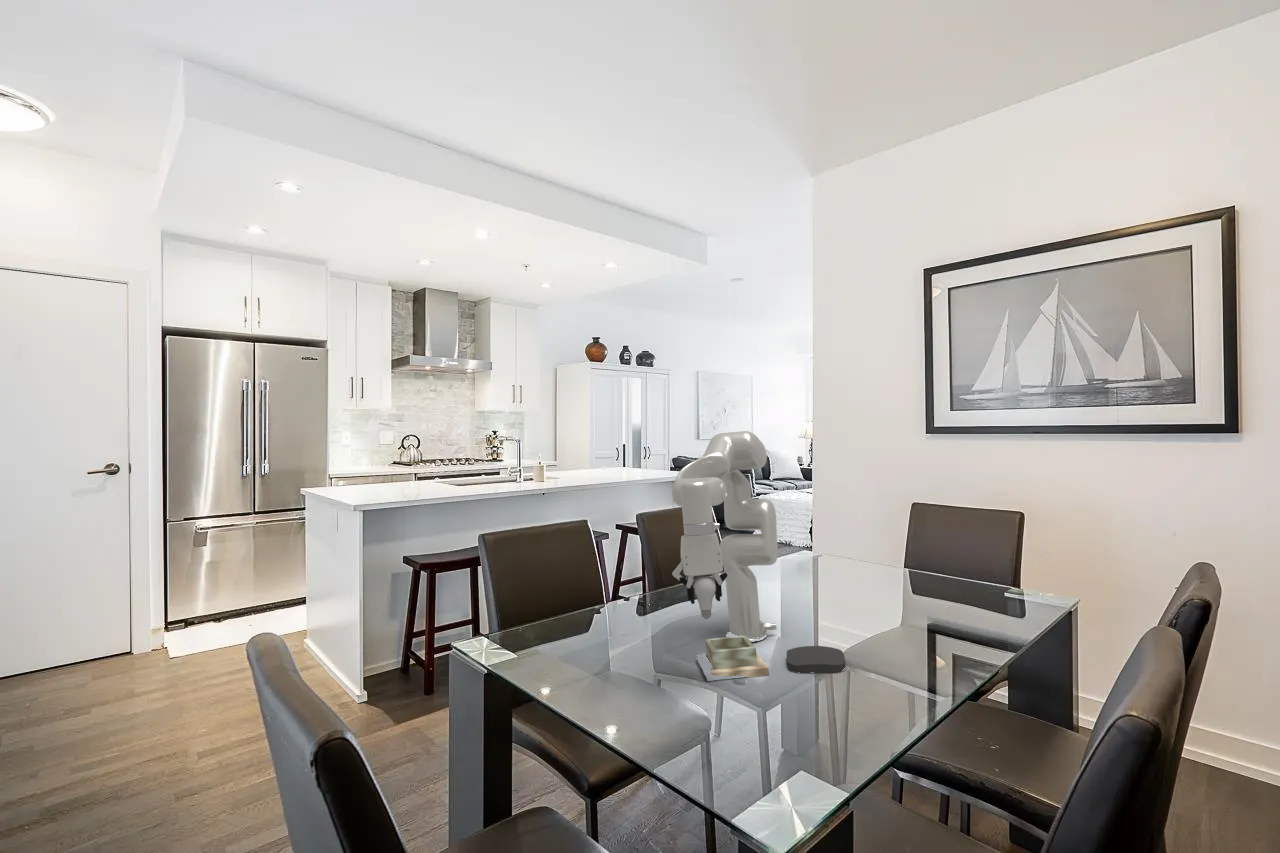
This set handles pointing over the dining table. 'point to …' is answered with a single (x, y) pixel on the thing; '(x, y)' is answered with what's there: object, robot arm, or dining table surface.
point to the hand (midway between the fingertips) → (705, 600)
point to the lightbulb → (704, 593)
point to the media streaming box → (815, 659)
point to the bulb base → (734, 657)
